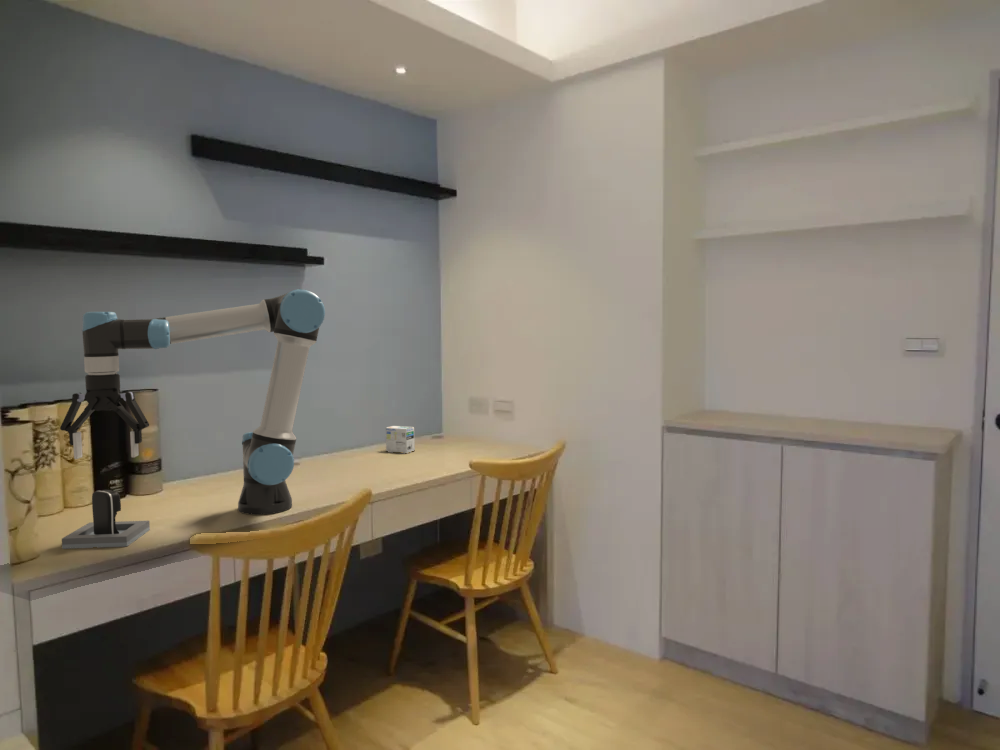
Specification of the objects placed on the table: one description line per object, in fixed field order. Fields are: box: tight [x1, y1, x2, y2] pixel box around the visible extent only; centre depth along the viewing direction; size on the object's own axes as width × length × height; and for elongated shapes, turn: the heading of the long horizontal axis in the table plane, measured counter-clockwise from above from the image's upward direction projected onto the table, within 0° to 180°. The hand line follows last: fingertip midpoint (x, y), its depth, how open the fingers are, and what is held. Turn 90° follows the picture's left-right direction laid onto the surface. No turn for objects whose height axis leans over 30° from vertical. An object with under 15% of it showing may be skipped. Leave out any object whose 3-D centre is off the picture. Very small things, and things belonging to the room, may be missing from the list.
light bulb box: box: [385, 425, 416, 454], centre depth 297 cm, size 11×7×11 cm, turn 66°
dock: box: [61, 520, 151, 550], centre depth 176 cm, size 15×14×2 cm
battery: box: [91, 489, 122, 535], centre depth 176 cm, size 7×4×11 cm, turn 63°
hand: (106, 457), depth 176 cm, fingers open, 13 cm apart
